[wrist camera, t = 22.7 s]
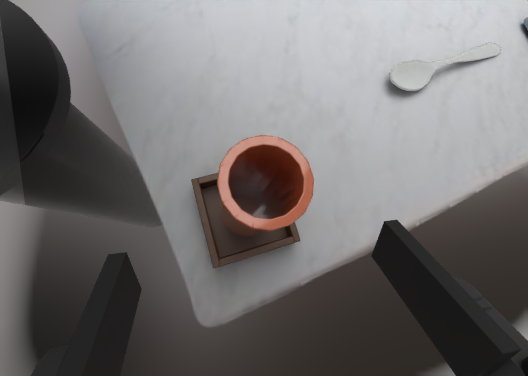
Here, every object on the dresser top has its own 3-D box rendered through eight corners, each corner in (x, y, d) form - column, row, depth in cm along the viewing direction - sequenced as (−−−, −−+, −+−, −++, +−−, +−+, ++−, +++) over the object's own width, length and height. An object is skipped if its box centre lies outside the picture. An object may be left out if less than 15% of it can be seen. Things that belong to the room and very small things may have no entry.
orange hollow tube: (229, 241, 24) (232, 242, 10) (218, 198, 25) (207, 146, 11) (272, 229, 25) (326, 214, 11) (260, 187, 26) (296, 126, 12)
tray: (214, 265, 24) (213, 268, 21) (194, 185, 25) (191, 179, 23) (293, 240, 26) (300, 240, 23) (270, 166, 27) (275, 158, 24)
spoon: (376, 73, 32) (384, 64, 30) (491, 35, 36) (503, 25, 34) (391, 101, 31) (400, 94, 29) (506, 59, 35) (519, 50, 34)
